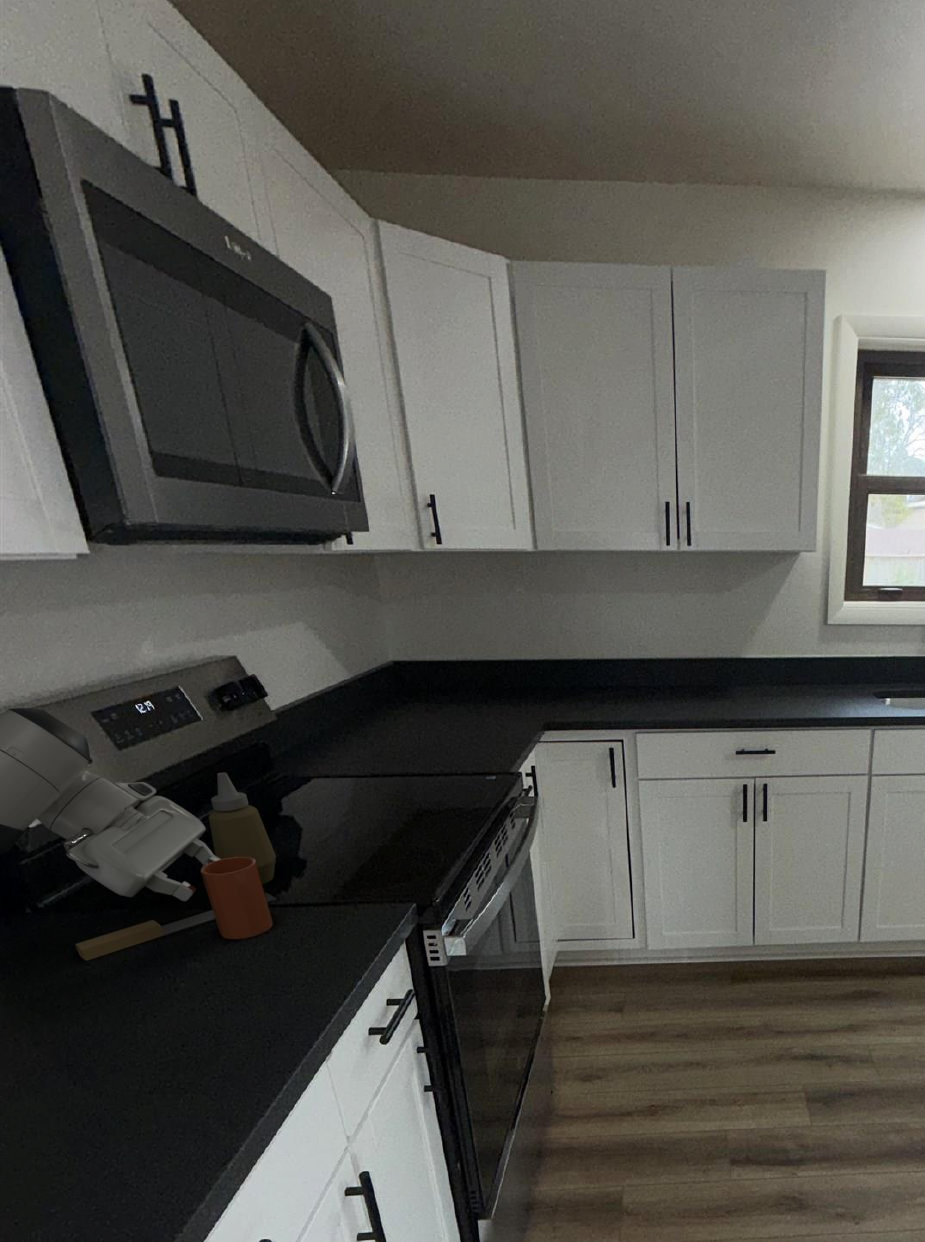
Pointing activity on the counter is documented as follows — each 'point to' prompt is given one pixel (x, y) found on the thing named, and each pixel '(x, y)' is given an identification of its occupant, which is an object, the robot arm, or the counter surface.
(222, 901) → the cup
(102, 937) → the knife
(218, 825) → the squeeze bottle
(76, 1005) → the counter surface
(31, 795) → the robot arm
